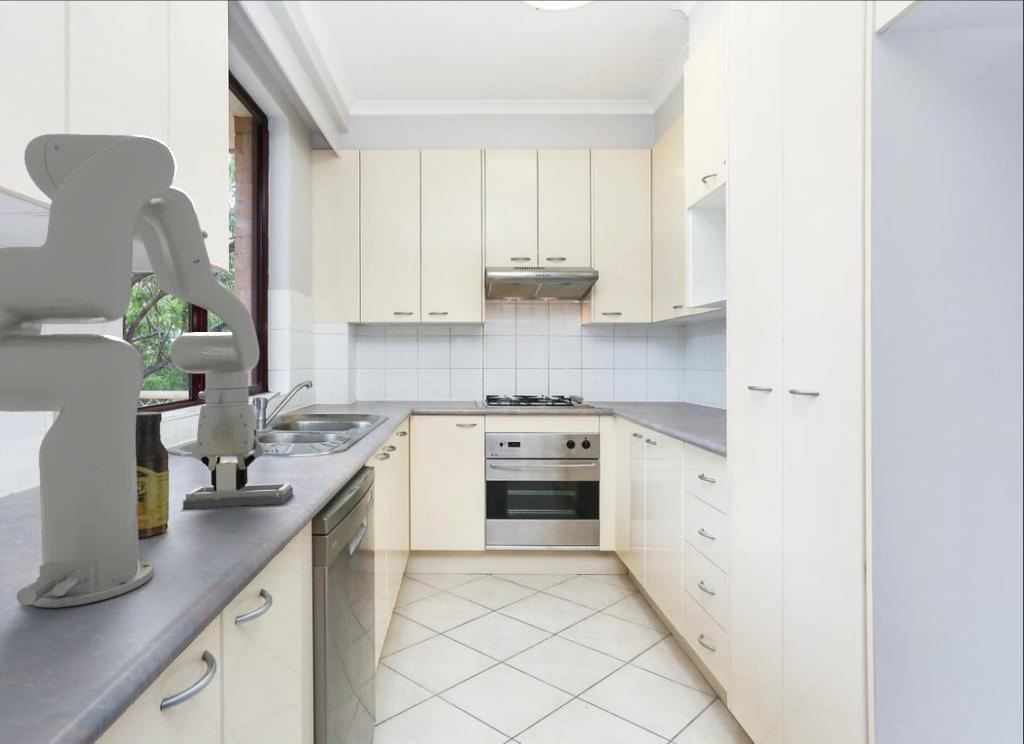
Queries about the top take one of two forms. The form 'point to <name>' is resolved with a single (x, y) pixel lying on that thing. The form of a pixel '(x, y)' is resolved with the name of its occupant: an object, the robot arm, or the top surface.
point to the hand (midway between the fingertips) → (229, 487)
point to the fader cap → (226, 476)
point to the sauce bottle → (151, 476)
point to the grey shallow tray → (238, 496)
